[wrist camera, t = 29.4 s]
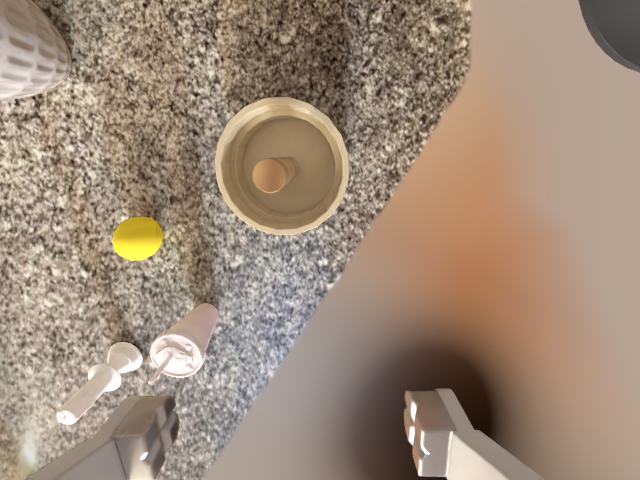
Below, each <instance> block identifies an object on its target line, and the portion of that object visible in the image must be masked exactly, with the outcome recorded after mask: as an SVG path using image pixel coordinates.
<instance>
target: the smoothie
mask: <svg viewBox="0 0 640 480" xmlns="http://www.w3.org/2000/svg"><path fill="white" fill-rule="evenodd" d="M218 318H219V312H218V310H217V309H216V307H215V306H213V305H211V304H208V303H202V304H200V305H198V306H197V307H196V308H194V309H193V310H192V311H191V312H190V313H188V314H187V315H186V316H185V317H184V318H182V319H181V320H180V321H179V322H178V323H176V324H175V325H174V326H173V327H171V328H170V329H169V330H166V331H164V332H162V333H160V334H159V335H158V336H157V337H156V339H155V340H154V342H153V343H152V345H151V348H150V356H151V360H152V362H153V363H154V365H155V366H156V367H157V368H158V370H157V371H156V372H155V374H154V375H153V376H152V378H151V379H150V380H149V381H148V384H150V385H153V384H154V382H155V381H156V380H157V378H158V377H159V376H160V374H161V373H162V372H163V373H165V374H166V375H169V376H173V377H187V376H190V375H192V374H194V373H195V372H197V371H198V369H199V368H200V366H201V365H202V364H203V362H204V360H205V355H206V353H205V351H206V348H207V346H208V343H209V341H210V338H211V336H212V333H213V331H214V328H215V326H216V323H217V320H218Z"/></svg>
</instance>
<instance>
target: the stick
mask: <svg viewBox="0 0 640 480" xmlns="http://www.w3.org/2000/svg"><path fill="white" fill-rule="evenodd" d="M298 173H299V164H298V162H297V161H296V160H295V159H294V158H292V157H277V158H265V159H262V160H260V161H259V162H258V163H257V164H256V165H255V167H254V169H253V174H252V175H253V181H254V183H255V185H256V186H257V187H258V188H259V189H260V190H262V191H264V192H267V193H273V192H277V191H279V190H280V189H281V188H283V187H284V186H285V185H286V184H288V183H289V182H290V181H291V180H292V179H294V178H295V177H296V176H297V175H298Z"/></svg>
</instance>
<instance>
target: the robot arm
mask: <svg viewBox="0 0 640 480" xmlns="http://www.w3.org/2000/svg"><path fill="white" fill-rule="evenodd" d="M405 402H406V405H407V407H406V409H405V410H404V422H405V430H406V434H407V438H408V441H409V442H410V443H411V444H412V445H413V458H414V461H415V465H416V468H417V471H418V474H419V476H432V477H436V476H437V477H447V479H448V480H545V479H543V478H542V477H540V476H539V475H538V474H537V473H535V472H534V471H532V470H531V469H530V468H529V467H527V466H526V465H524V464H523V463H522V462H521V461H519V460H518V459H517V458H515V457H514V456H513V455H511V454H510V453H508V452H507V451H506V450H505V449H503V448H502V447H501V446H499V445H498V444H497V443H495V442H494V441H493V440H491V439H490V438H489V437H487V436H486V435H484V434H483V433H482V432H481V431H476V430H474V429H473V427H472V425H471V423H470V421H469V420H468V418H467V416H466V415H465V412H464V411H463V409H462V407H461V405H460V404H459V402H458V400H457V399H456V396H455V394H454V393H453V391H452V390H451V389H435V390H434V389H429V390H406V393H405ZM175 405H176V404H175V400H174V397H172V396H129V397H127V398H126V399H124V400H123V402H122V403H121V404H120V405H119V407H118V408H117V409H116V410H115V411H114V413H113V414H112V415H111V416H110V418H109V419H108V420H107V421H106V422H105V424H104V425H103V426H102V427H101V429H100V430H99V431H98V432H97V433H96V435H95V436H94V437H93V438H91V439H86V440H85V441H83V442H82V443H80V444H79V445H77V446H76V447H74V448H72V449H71V450H69V451H68V452H66V453H65V454H63V455H62V456H60V457H58V458H57V459H55V460H54V461H52V462H51V463H49V464H48V465H46V466H44V467H43V468H41V469H40V470H38V471H37V472H35V473H34V474H32V475H30V476H29V477H27V478H26V479H24V480H155V479H156V477H157V475H158V473H159V471H160V469H161V467H162V465H163V463H164V462H165V454H164V453H165V452H166V451H167V450H169V449H170V448H171V447H172V446H173V444H174V442H175V440H176V438H177V434H178V430H179V417H178V414H176V413H175V412H174V411H173V409H174V407H175Z"/></svg>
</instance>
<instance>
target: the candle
mask: <svg viewBox="0 0 640 480" xmlns="http://www.w3.org/2000/svg"><path fill="white" fill-rule="evenodd" d="M141 364H142V354H141V352H140V350H139V349H138V348H137V347H136V346H134V345H133V344H130V343H127V342H118V343H115V344H113V345H112V346H111V347H110V349H109V352H108V358H107V364H96V365H94V366H92V367H91V368H90V369H89V372H88V378H89V381H88V382H87V383H86V384H85V385H84V386H82V387H81V388H80V389H79V390H77V391H75V392H74V393H73V394H72V395H71V396H70V397H69V399H68V400H67V401H66V402H65V403H64V404H63V405H62V406H61V407H60V409H59V410H58V412H57V414H56V416H57V419H58V421H59V422H60V423H63V424H73V423H74V422H76V421H77V420H78V419H79V418H80V417H81V416H82V415H83V414H84V413H85V412H86V411H87V410H88V409H89V408H91V407H92V406H93V405H94V403H95V401H96V400H97V399H98V398H99V396H100V395H101V394H102V393H103V392H104V391H112V390H115V389H117V388H118V387H119V386H120V384H121V376H120V374H119V373H124V372H127V371H132V370H135V369H137V368H138V367H140V365H141Z"/></svg>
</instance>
